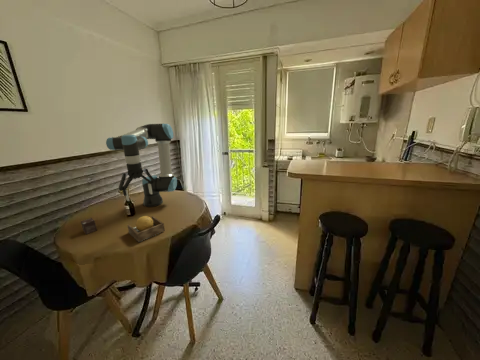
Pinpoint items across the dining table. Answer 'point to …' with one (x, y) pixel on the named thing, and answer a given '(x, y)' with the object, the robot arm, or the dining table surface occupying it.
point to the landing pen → (147, 230)
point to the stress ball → (144, 223)
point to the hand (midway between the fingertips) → (140, 197)
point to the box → (88, 226)
